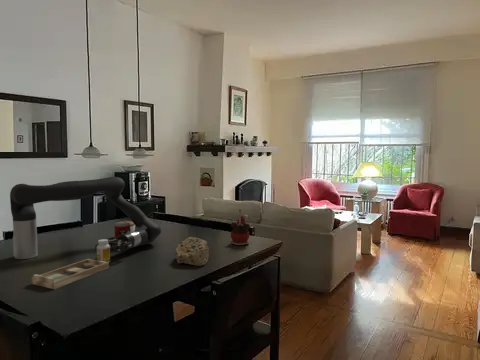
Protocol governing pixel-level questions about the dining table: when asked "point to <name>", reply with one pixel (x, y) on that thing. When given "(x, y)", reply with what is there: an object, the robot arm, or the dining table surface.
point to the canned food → (121, 228)
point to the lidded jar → (132, 225)
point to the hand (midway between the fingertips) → (103, 248)
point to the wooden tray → (69, 273)
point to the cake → (240, 231)
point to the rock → (192, 251)
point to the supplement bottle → (103, 251)
